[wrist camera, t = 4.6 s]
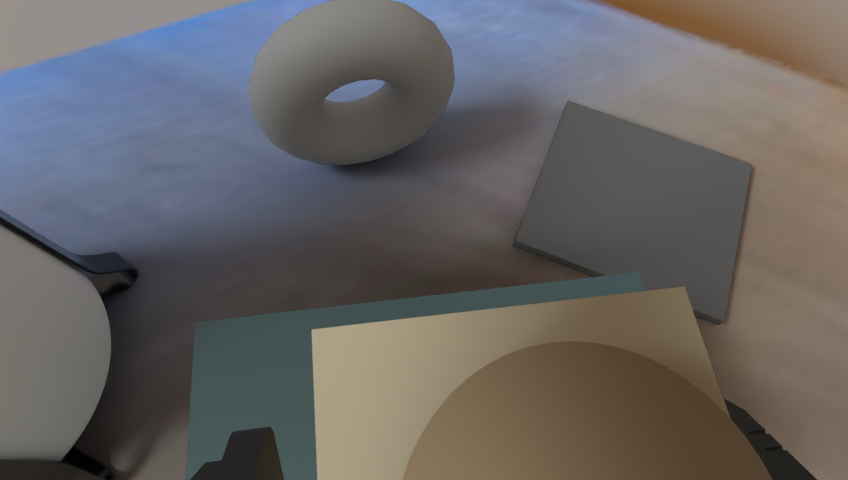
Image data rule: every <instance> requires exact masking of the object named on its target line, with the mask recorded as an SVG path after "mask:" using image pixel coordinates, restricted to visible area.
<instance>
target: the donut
mask: <svg viewBox="0 0 848 480" xmlns="http://www.w3.org/2000/svg"><path fill="white" fill-rule="evenodd" d="M370 79H378V80H383V81H385V84H384V85H383V86H382V87H381V88H380V89H379V90H378V91H376V92H374V93H372V94H371V95H369V96H367V97H364V98H361V99H358V100H355V101H348V102H332V101H328V100H326V99H325V98H326V97H327V96H328V95H329V94H330V93H331V92H332V91H334V90H336V89H338V88H339V87H341V86H343V85H346V84H349V83H352V82H355V81H359V80H370ZM454 81H455V78H454V66H453V57H452V52H451V49H450V47H449V46H448V44H447V42H446V41H445V39H444V38H443V36H442V34H441V33H440V31H439V30H438V28H437V26H436V25H435V23H434V22H432V21H431V20H429V19H428V18H426V17H425V16H423V15H422V14H420V13H419V12H417V11H416V10H414V9H413V8H411V7H410V6H408V5H406V4H404V3H400V2H396V1H391V0H333V1H330V2H327V3H323V4H320V5H317V6H314V7H311V8H308V9H306V10H304V11H303V12H301V13H299V14H298V15H296V16H295V17H293V18H292V19H290V20H289V21H287V22H286V23H284V24H283V25H281V26H280V27H278V28H277V30H276V31H275V32H274V33H273V34H272V36H271V37H270V38H269V39H268V41H267V42H266V43H265V44H264V46H263V47H262V48H261V49H260V51H259V53H258V55H257V56H256V59H255V63H254V66H253V69H252V73H251V76H250V79H249V96H250V102H251V108H252V114H253V116H254V118H255V121H256V123H257V124H258V125H259V127H260V128H261V129H262V131H263V132H264V133H265V135H266V136H267V137H268V139H269V140H270V141H271V142H272V143H273V144H274V145H276V146H277V147H279V148H281V149H282V150H284V151H286V152H287V153H289V154H291V155H292V156H294V157H297V158H299V159H303V160H307V161H311V162H314V163H318V164H328V165H348V164H355V163H362V162H369V161H372V160H375V159H378V158H381V157H384V156H387V155H391V154H393V153H395V152H396V151H398V150H400V149H402V148H404V147H406V146H408V145H410V144H412V143H413V142H414V141H416V140H417V139H418V138H419V137H421V136H422V135H423V134H424V133H426V132H427V131H428V130H429V129H430V128H431V127H432V126H433V124H434V123H435V122H436V120H437V119H438V118H439V116H440V115H441V114H442V112H443V111H444V110H445V108H446V107H447V104H448V101H449V98H450V95H451V92H452V89H453V85H454Z"/></svg>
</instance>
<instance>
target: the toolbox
mask: <svg viewBox="0 0 848 480" xmlns="http://www.w3.org/2000/svg"><path fill="white" fill-rule="evenodd" d="M641 291H646V290H645V287H644V283H643V280H642V277H641V274H640V272H634V273H625V274H617V275H608V276H599V277H590V278H581V279H572V280H563V281H554V282H545V283H536V284H527V285H518V286H510V287H501V288H492V289H483V290H474V291H465V292H456V293H447V294H438V295H429V296H420V297H411V298H403V299H394V300H385V301H376V302H367V303H358V304H349V305H340V306H331V307H322V308H313V309H304V310H296V311H287V312H278V313H269V314H260V315H251V316H242V317H233V318H224V319H215V320H206V321H197V322H195V325H194V343H193V361H192V379H191V398H190V416H189V434H188V452H187V471H186V480H190V479H191V478H192V477H193V476H194V475H195V473H196V472H197V471H198V470H199V469H200V468H201V466H202V465H203V464H204V463H205V462H212V461H220V460H222V457H223V454H224V452H225V449H226V446H227V443H228V440H229V437H230V435H231V433H232V432H234V431H240V430H248V429H256V428H264V427H271V428H272V429H273V432H274V435H275V440H276V444H277V449H278V453H279V458H280V462H281V467H282V472H283V476H284V480H317V458H316V432H315V407H314V381H313V355H312V329H320V328H329V327H338V326H346V325H355V324H364V323H372V322H381V321H390V320H398V319H407V318H416V317H424V316H433V315H442V314H450V313H459V312H468V311H476V310H485V309H494V308H502V307H511V306H520V305H528V304H537V303H546V302H554V301H563V300H572V299H580V298H589V297H598V296H606V295H615V294H624V293H632V292H641Z"/></svg>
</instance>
